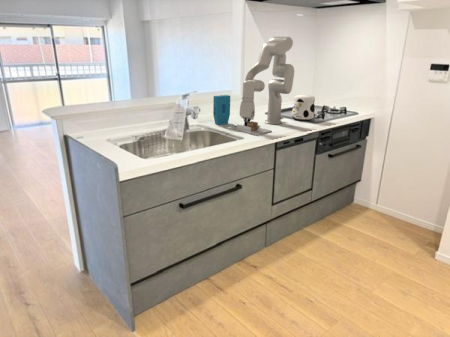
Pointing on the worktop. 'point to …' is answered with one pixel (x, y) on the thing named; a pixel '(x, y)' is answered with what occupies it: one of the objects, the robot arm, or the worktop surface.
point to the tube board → (248, 130)
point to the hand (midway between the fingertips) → (246, 127)
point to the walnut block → (252, 125)
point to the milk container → (303, 107)
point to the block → (221, 109)
